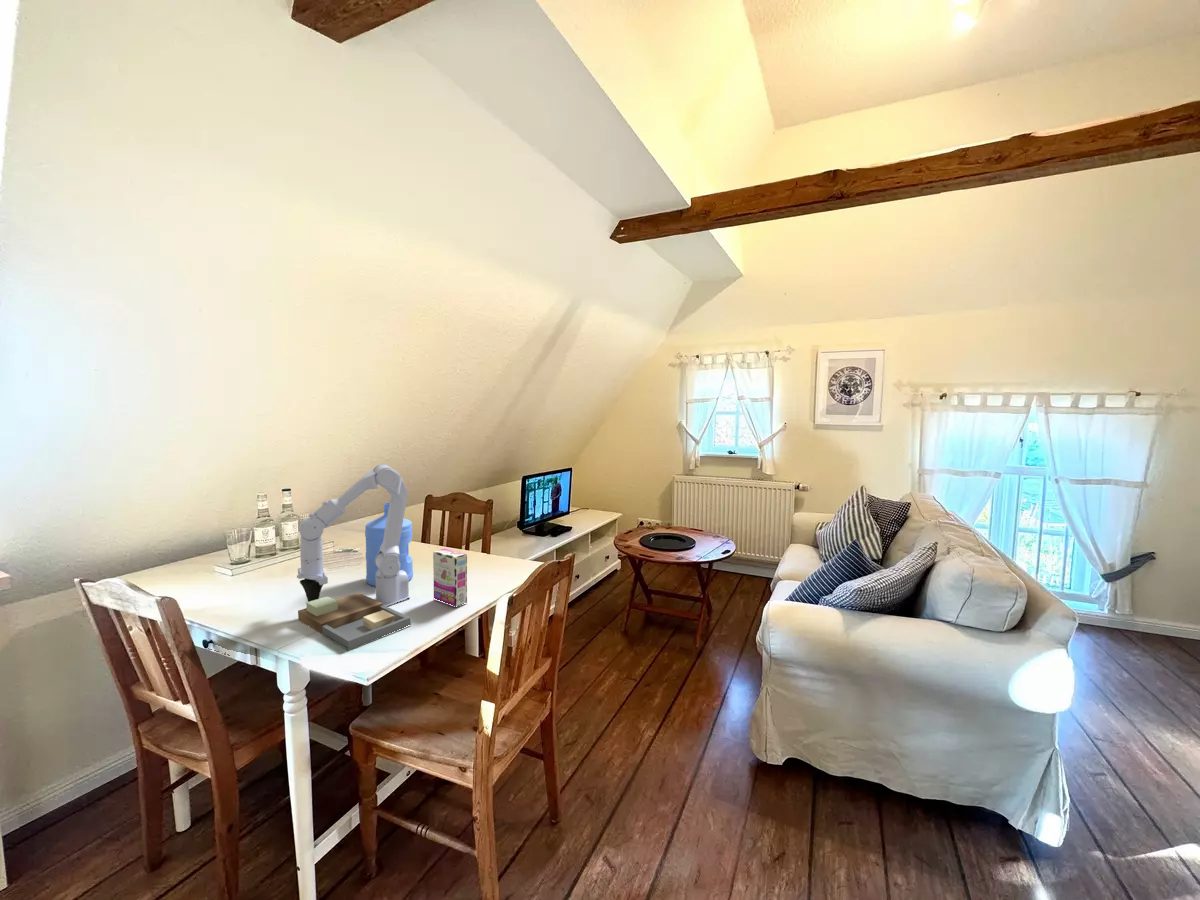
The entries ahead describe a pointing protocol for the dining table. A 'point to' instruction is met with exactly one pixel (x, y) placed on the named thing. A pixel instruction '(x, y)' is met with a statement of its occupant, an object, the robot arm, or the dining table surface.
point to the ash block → (378, 619)
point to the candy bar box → (450, 576)
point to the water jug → (375, 540)
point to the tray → (364, 630)
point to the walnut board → (341, 612)
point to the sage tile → (322, 606)
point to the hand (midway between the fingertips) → (313, 602)
